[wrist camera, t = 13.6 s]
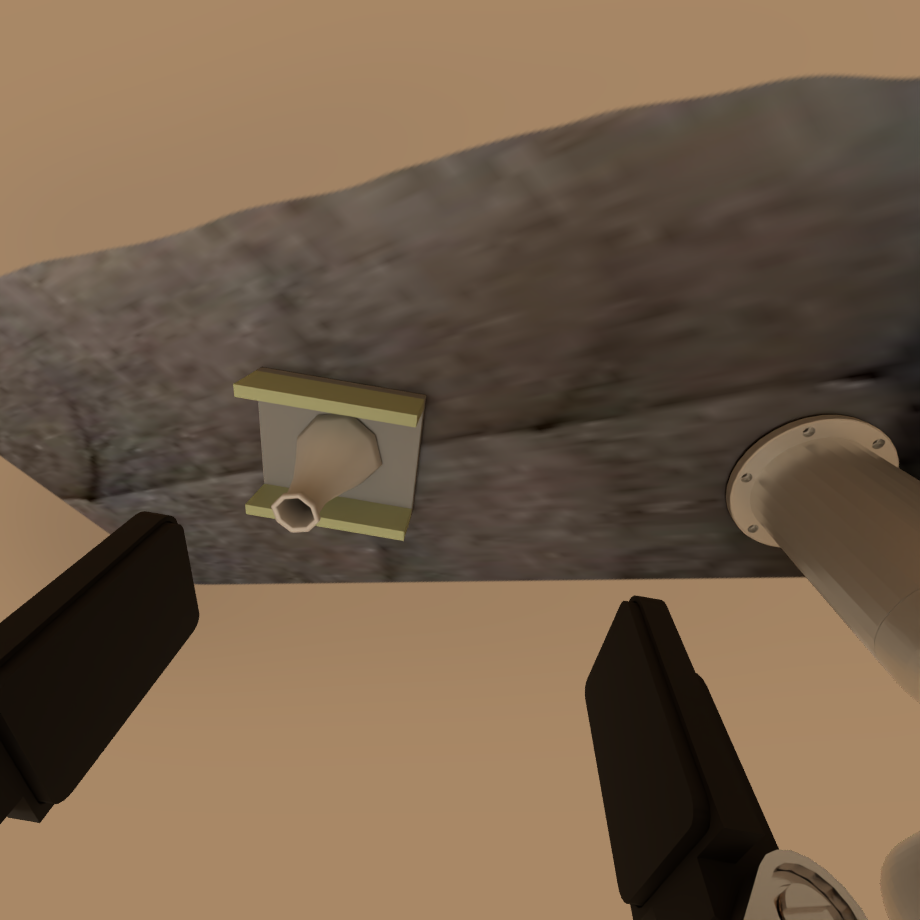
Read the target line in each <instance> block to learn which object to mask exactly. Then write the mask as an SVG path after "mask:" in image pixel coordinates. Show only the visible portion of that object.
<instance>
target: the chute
mask: <svg viewBox="0 0 920 920" xmlns="http://www.w3.org/2000/svg"><path fill="white" fill-rule="evenodd" d="M233 387H234V397H239V398H245V399H251V400H257V401H258V406H259V419H260V433H261V446H262V460H263V474H264V485H263V486H262V487H261V488H260V489H259V490H258V491H257V492H256V493H255V494H254V495H253V497H252V498H251V499H250V500H249V501H248V502H247V503H246V504H245V506H246V514H250V515H256V516H262V517H268V518H274V519H276V518H275V516H274V513H273V510H272V508H271V506H272V504H273V503H274V502H275V501H276V500H277V499H278V498H279V497H280V496H281V495H282V494H284V493H287V492H288V490H289V487H290V485H291V483H292V480H293V478H294V470H295V462H296V448H297V437H298V435H299V434H300V433H301V432H302V431H303V430H304V429H305V428H306V427H307V426H308V425H309V423H310V422H311V421H312V420H313V419H314V418H315V417H316V416H317V415H327V414H339V415H345V416H351V417H355V418H356V419H357V420H358V421H360V422H361V423H362V424H363V425H364V426H365V427H366V428H367V429H368V430H370V431H371V432H372V433H373V434H374V435H375V437H376V441H377V446H378V450H379V454H380V458H381V462H382V465H381V466H380V467H379V468H378V469H377V470H376V471H375V472H374V473H372V474H371V475H370V476H369V477H368V478H367V479H366V480H365V481H364V482H363V483H361V484H360V485H358V486H356V487H354V488H352V489H350V490H348V491H346V492H344V493H342V494H340V495H338V496H337V497H335V498H333V499H332V500H330V501H328V502H327V503H326V504H325V505H324V507H323V508H322V510H321V511H320V513H319V514H320V517H321V519H320V521H319V522H318V523H317V524H316V525H315V526H320V527H326V528H332V529H338V530H343V531H349V532H355V533H361V534H367V535H373V536H378V537H384V538H390V539H396V540H402V541H404V537H405V534H406V531H407V528H408V524H409V521H410V518H411V515H412V511H413V503H414V495H415V486H416V478H417V469H418V461H419V452H420V444H421V435H422V427H423V418H424V410H425V402H426V395H423V394H417V393H411V392H405V391H399V390H393V389H387V388H382V387H376V386H370V385H364V384H358V383H352V382H346V381H341V380H335V379H329V378H323V377H317V376H311V375H305V374H299V373H294V372H288V371H282V370H276V369H270V368H264V367H261V368H259V369H258V370H256V371H254V372H253V373H251V374H249V375H248V376H246V377H244V378H243V379H241V380H239V381H238V382H236V383H234V384H233Z"/></svg>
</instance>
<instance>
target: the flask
mask: <svg viewBox="0 0 920 920" xmlns="http://www.w3.org/2000/svg"><path fill="white" fill-rule="evenodd" d="M381 465H382V462H381V458H380V454H379V450H378V446H377V441H376V437H375V435H374V434H373V433H372V432H371V431H370V430H368V429H367V428H366V427H365V426H364V425H363V424H362V423H361V422H360V421H358V420H357V419H356V418H355V417H351V416H345V415H339V414H327V415H317V416H316V417H315V418H314V419H313V420H312V421H311V422H310V423H309V425H308V426H307V427H306V428H305V429H304V430H303V431H302V432H301V433H300V434H299V435H298V437H297V448H296V462H295V470H294V478H293V480H292V483H291V485H290V487H289V490H288V492H287V493H284V494H282V495H281V496H280V497H279V498H278V499H277V500H276V501H275V502H274V503H273V504H272V506H271V508H272V510H273V513H274V516H275V518H276V521H277V522H278V523H279V524H281V525H282V526H283V527H285V528H286V529H287V530H289V531H290V532H291V533H293V532H308V531H310V530H311V529H312V528H313V527H314V526H315V525H316V524H317V523H318V522H319V521H320V519H321V517H320V514H319V513H320V511H321V510H322V508H323V507H324V505H325V504H326V503H327V502H328V501H330V500H332V499H333V498H335V497H337V496H338V495H340V494H342V493H344V492H346V491H348V490H350V489H352V488H354V487H356V486H358V485H360V484H361V483H363V482H364V481H365V480H366V479H367V478H368V477H369V476H370V475H371V474H372V473H374V472H375V471H376V470H377V469H378V468H379V467H380V466H381Z"/></svg>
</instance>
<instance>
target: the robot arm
mask: <svg viewBox="0 0 920 920" xmlns="http://www.w3.org/2000/svg"><path fill="white" fill-rule="evenodd" d="M726 503H727V509H728V511H729V513H730V515H731V518H732V519H733V520H734V522H735V523H736V525H737V526H738V527H739V528H740V529H741V530H742V532H743V533H744V534H746V535H747V536H749V537H750V538H752V539H754V540H755V541H757V542H760V543H763V544H765V545H768V546H774V547H780V548H782V550H783V551H784V552H785V553H786V554H787V555H788V557H789V558H790V559H791V560H792V561H793V563H794V564H795V565H796V566H797V567H798V568H799V570H800V571H801V572H802V573H803V574H804V575H805V577H806V578H807V579H808V580H809V581H810V582H811V583H812V585H813V586H814V587H815V588H816V589H817V590H818V592H819V593H820V594H821V595H822V596H823V598H824V599H825V600H826V601H827V602H828V603H829V605H830V606H831V607H832V608H833V609H834V610H835V612H836V613H837V614H838V615H839V616H840V617H841V618H842V620H843V621H844V622H845V623H846V624H847V626H848V627H849V628H850V629H851V630H852V631H853V633H854V634H855V635H856V636H857V637H858V638H859V639H860V641H861V642H862V643H863V644H864V645H865V647H866V648H867V649H868V650H869V651H870V652H871V654H872V655H873V656H874V657H875V658H876V659H877V660H878V662H879V663H880V664H881V665H882V666H883V667H884V668H885V669H886V671H887V672H888V673H889V674H890V675H891V676H892V678H893V679H894V680H895V681H896V682H897V683H898V684H899V685H900V686H901V687H902V688H903V689H904V690H905V691H906V692H907V693H908V694H909V695H910V696H911V697H913V698H914V699H915V700H916V701H917V702H919V703H920V481H919V480H917V479H915V478H914V477H912V476H911V475H909V474H907V473H906V472H904V471H903V470H901V469H899V459H898V455H897V451H896V448H895V446H894V445H893V443H892V441H891V440H890V438H889V437H888V436H886V435H885V434H884V433H883V432H882V431H881V430H880V429H878V428H876V427H874V426H873V425H871V424H869V423H867V422H865V421H862V420H860V419H857V418H855V417H849V416H843V415H820V416H813V417H807V418H804V419H800V420H797V421H794V422H791V423H788V424H786V425H784V426H782V427H780V428H778V429H776V430H774V431H772V432H771V433H769V434H767V435H766V436H764V437H763V438H761V439H760V440H759V441H757V442H756V443H755V444H754V445H753V446H752V447H751V448H750V449H748V450H747V451H746V453H745V454H744V455H743V456H742V458H741V459H740V460H739V461H738V463H737V464H736V466H735V468H734V470H733V471H732V473H731V475H730V478H729V481H728V484H727V490H726ZM198 620H199V610H198V604H197V599H196V594H195V588H194V583H193V577H192V572H191V567H190V561H189V556H188V551H187V545H186V540H185V535H184V530H183V527H182V526H181V525H179V524H178V523H177V521H176V519H175V518H174V517H173V516H169V515H163V514H158V513H152V512H146V511H144V512H140V513H138V514H136V515H135V516H134V517H132V518H131V519H130V520H129V521H127V522H126V523H125V524H123V525H122V526H121V527H120V528H118V529H117V530H116V531H115V532H113V533H112V534H111V535H110V536H108V537H107V538H106V539H105V540H103V541H102V542H101V543H100V544H98V545H97V546H96V547H95V548H93V549H92V550H91V551H90V552H88V553H87V554H86V555H85V556H83V557H82V558H81V559H80V560H78V561H77V562H76V563H75V564H73V565H72V566H71V567H70V568H68V569H67V570H66V571H65V572H63V573H62V574H61V575H60V576H58V577H57V578H56V579H55V580H53V581H52V582H51V583H50V584H48V585H47V586H46V587H45V588H43V589H42V590H41V591H40V592H38V593H37V594H36V595H35V596H33V597H32V598H31V599H30V600H28V601H27V602H26V603H25V604H23V605H22V606H21V607H20V608H18V609H17V610H16V611H15V612H13V613H12V614H11V615H10V616H8V617H7V618H6V619H5V620H3V621H2V622H1V623H0V824H1V823H2V821H3V820H4V819H5V818H6V817H8V818H14V819H20V820H26V821H32V822H37V823H40V822H41V821H42V820H43V818H44V817H45V816H46V814H47V813H48V812H49V810H50V809H51V808H52V806H53V805H54V804H59V803H60V802H62V801H64V800H65V799H66V798H67V797H68V796H69V795H70V794H71V793H72V792H73V790H74V789H75V788H76V786H77V785H78V783H79V782H80V781H81V780H82V779H83V777H84V776H85V775H86V773H87V772H88V771H89V769H90V768H91V767H92V765H93V764H94V763H95V761H96V760H97V759H98V757H99V756H100V754H101V753H102V752H103V751H104V749H105V748H106V747H107V745H108V744H109V743H110V741H111V740H112V739H113V737H114V736H115V735H116V733H117V732H118V731H119V729H120V728H121V727H122V726H123V724H124V723H125V721H126V720H127V719H128V717H129V716H130V715H131V713H132V712H133V711H134V710H135V708H136V707H137V705H138V704H139V703H140V702H141V700H142V699H143V698H144V696H145V695H146V694H147V692H148V691H149V690H150V688H151V687H152V686H153V684H154V683H155V682H156V680H157V679H158V678H159V676H160V675H161V674H162V672H163V671H164V670H165V668H166V667H167V666H168V665H169V663H170V662H171V660H172V659H173V658H174V656H175V655H176V654H177V653H178V651H179V650H180V649H181V647H182V646H183V645H184V643H185V642H186V641H187V639H188V638H189V636H190V635H191V634H192V633H193V631H194V630H195V628H196V626H197V623H198ZM585 699H586V705H587V711H588V717H589V722H590V727H591V734H592V739H593V745H594V751H595V757H596V762H597V768H598V774H599V780H600V785H601V791H602V797H603V803H604V808H605V814H606V820H607V825H608V831H609V837H610V843H611V848H612V854H613V859H614V865H615V871H616V877H617V883H618V887H619V892H620V895H621V898H622V899H623V901H624V902H625V903H626V904H630V905H631V910H632V916H633V920H868V919H867V918H866V916H865V914H864V912H863V910H862V909H861V908H860V906H859V905H858V904H857V902H856V901H855V900H854V899H853V897H852V896H851V895H850V894H849V892H848V891H847V890H846V888H845V887H844V886H843V885H842V884H841V883H839V882H838V881H837V880H836V879H835V878H834V877H833V876H832V875H831V874H830V873H829V872H828V871H827V870H826V869H824V868H823V867H821V866H820V865H818V864H817V863H816V862H814V861H813V860H811V859H810V858H808V857H806V856H803V855H801V854H799V853H796V852H794V851H790V850H779V848H778V846H777V844H776V841H775V839H774V837H773V835H772V832H771V830H770V828H769V826H768V824H767V821H766V819H765V817H764V814H763V812H762V810H761V808H760V805H759V803H758V801H757V798H756V796H755V794H754V792H753V790H752V787H751V785H750V783H749V780H748V778H747V776H746V774H745V771H744V769H743V767H742V764H741V762H740V760H739V758H738V756H737V753H736V751H735V749H734V746H733V744H732V742H731V740H730V737H729V735H728V733H727V731H726V728H725V726H724V724H723V722H722V719H721V717H720V715H719V713H718V710H717V708H716V706H715V704H714V701H713V699H712V697H711V694H710V692H709V690H708V688H707V686H706V684H705V682H704V680H703V679H702V678H701V677H700V676H699V675H698V674H697V673H695V670H694V668H693V666H692V663H691V661H690V659H689V657H688V654H687V652H686V650H685V647H684V645H683V643H682V640H681V638H680V636H679V633H678V631H677V629H676V626H675V624H674V622H673V619H672V617H671V615H670V612H669V610H668V608H667V606H666V604H665V602H664V601H662V600H659V599H653V598H647V597H641V596H633V597H631V599H630V600H629V602H628V601H623V602H622V603H621V605H620V607H619V609H618V611H617V613H616V616H615V618H614V620H613V622H612V625H611V627H610V629H609V631H608V634H607V636H606V638H605V641H604V643H603V645H602V647H601V650H600V652H599V654H598V656H597V658H596V661H595V663H594V665H593V667H592V670H591V672H590V674H589V676H588V679H587V681H586V686H585ZM880 886H881V893H882V897H883V903H884V906H885V910H886V913H887V915H888V918H889V920H920V831H919V832H917V833H915V834H913V835H912V836H910V837H908V838H907V839H905V840H903V841H902V842H900V843H899V844H898V845H896V846H895V847H894V848H893V849H892V850H891V852H890V853H889V854H888V855H887V857H886V859H885V861H884V863H883V866H882V869H881V879H880Z"/></svg>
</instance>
